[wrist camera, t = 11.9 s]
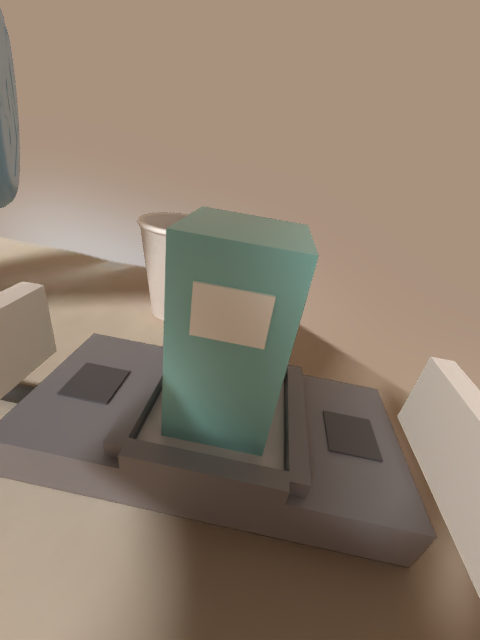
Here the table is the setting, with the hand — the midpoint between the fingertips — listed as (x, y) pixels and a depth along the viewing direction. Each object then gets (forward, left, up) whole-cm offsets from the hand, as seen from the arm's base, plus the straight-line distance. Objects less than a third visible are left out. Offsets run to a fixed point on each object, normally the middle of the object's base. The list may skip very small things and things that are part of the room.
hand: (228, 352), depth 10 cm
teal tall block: (-4, +3, -8) cm, 9 cm away
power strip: (-7, 0, -11) cm, 13 cm away
